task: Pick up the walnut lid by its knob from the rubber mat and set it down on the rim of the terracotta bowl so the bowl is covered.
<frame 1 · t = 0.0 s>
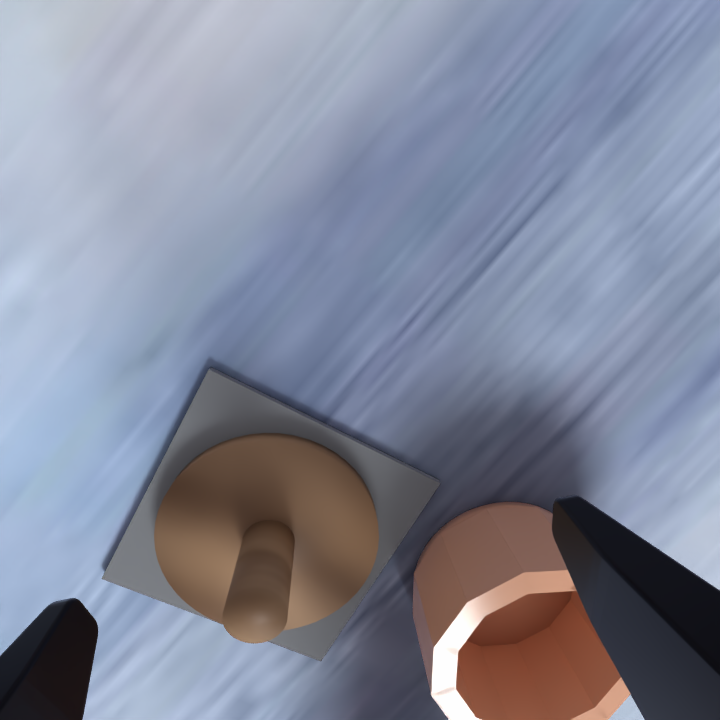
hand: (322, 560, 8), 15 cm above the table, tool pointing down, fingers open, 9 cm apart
lid: (271, 530, 25), resting on mat
mat: (271, 526, 26), on the table
bowl: (497, 575, 28), on the table
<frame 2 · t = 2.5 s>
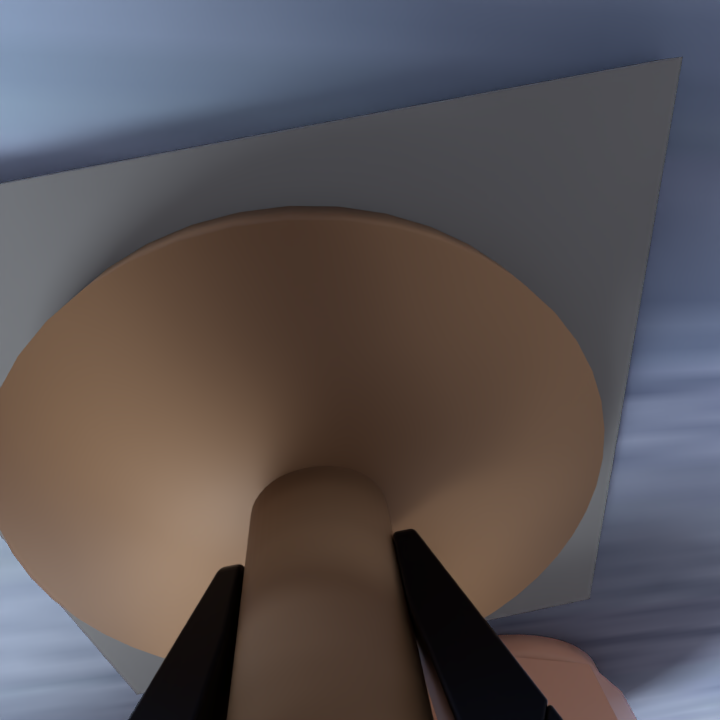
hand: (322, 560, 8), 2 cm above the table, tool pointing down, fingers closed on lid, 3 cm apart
lid: (318, 482, 10), resting on mat, touching gripper
mat: (318, 469, 11), on the table
bowl: (465, 710, 18), on the table
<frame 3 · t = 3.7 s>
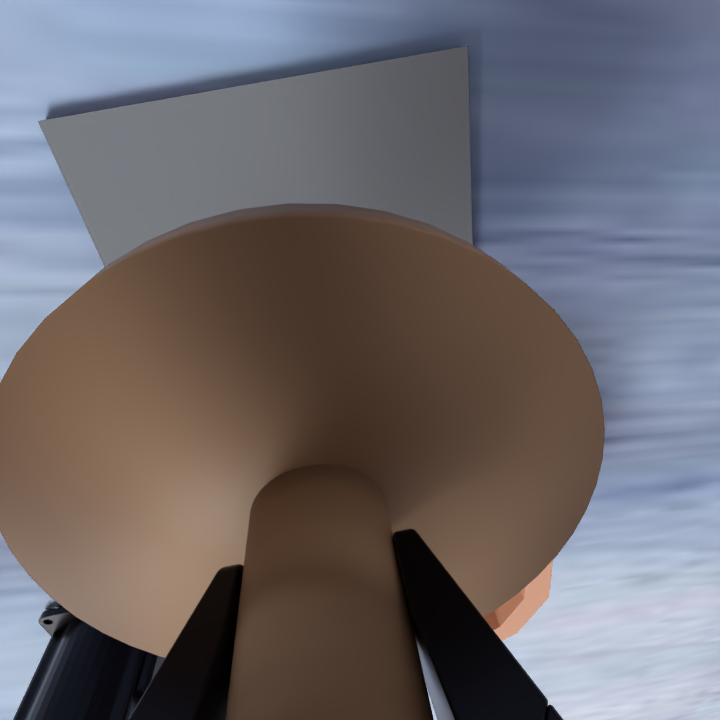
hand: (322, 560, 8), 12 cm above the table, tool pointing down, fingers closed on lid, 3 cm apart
lid: (317, 480, 10), point 10 cm above the table, touching gripper
mat: (301, 282, 18), on the table
bowl: (406, 501, 26), on the table
when the fingers open (9 cm above the table, at t = 5.2 s): lid drops 2 cm, resting on bowl.
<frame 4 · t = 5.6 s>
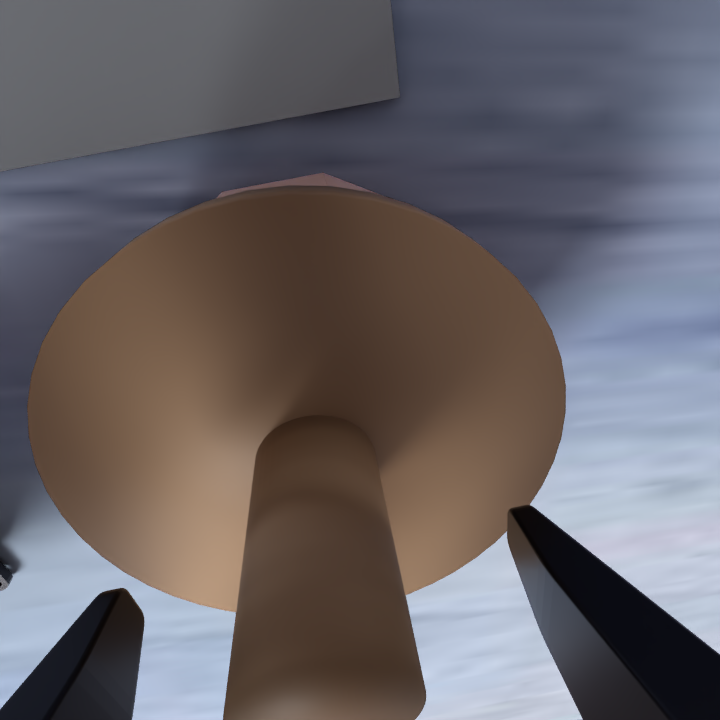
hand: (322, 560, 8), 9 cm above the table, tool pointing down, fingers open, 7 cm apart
lid: (314, 436, 11), point 6 cm above the table, touching bowl
bowl: (312, 334, 17), on the table, touching lid
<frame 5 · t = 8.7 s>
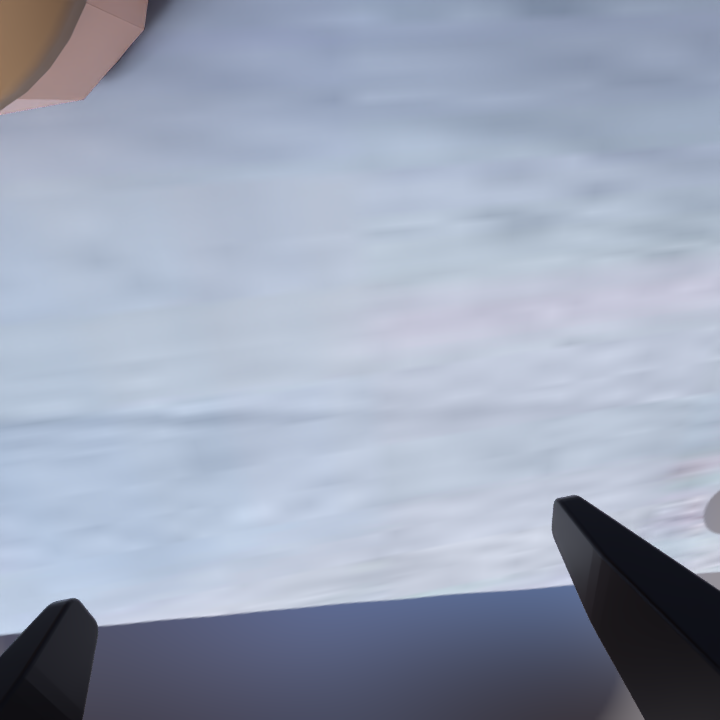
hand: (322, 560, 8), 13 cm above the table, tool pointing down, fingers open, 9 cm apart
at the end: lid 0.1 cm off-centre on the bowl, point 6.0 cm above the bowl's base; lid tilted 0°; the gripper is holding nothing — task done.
